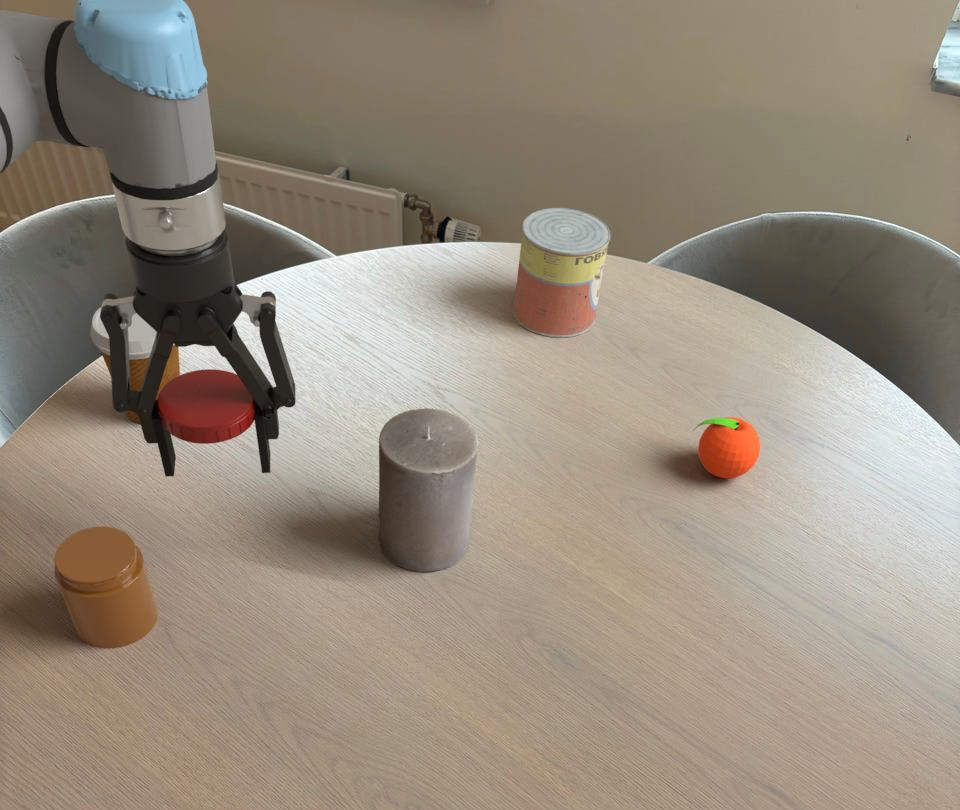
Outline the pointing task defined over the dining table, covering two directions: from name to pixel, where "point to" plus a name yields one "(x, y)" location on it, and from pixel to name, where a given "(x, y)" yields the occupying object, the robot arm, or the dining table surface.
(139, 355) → the disposable coffee cup
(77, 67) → the robot arm
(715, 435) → the clementine
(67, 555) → the jam jar
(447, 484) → the pillar candle
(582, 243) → the canned food
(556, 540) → the dining table surface
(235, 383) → the lid
